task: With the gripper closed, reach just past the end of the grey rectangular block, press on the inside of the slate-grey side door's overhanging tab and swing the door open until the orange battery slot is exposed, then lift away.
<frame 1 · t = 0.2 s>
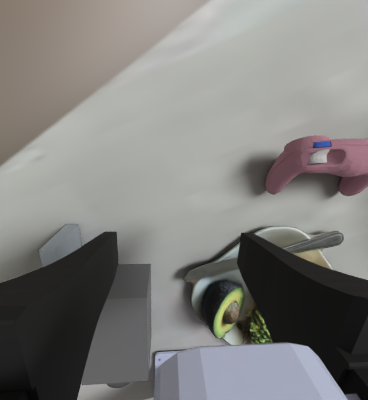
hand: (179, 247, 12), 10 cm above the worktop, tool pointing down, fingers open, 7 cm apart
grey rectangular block: (122, 304, 25), on the worktop
side door: (71, 308, 21), point 3 cm above the worktop, hinge at 0.0°
video game controller: (307, 164, 22), on the worktop
salad plate: (255, 285, 27), on the worktop
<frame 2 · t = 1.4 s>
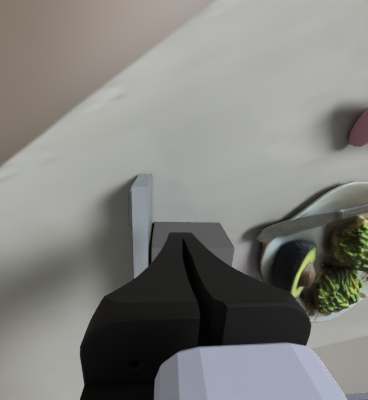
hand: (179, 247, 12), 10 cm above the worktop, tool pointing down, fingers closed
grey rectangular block: (184, 267, 24), on the worktop
side door: (141, 265, 20), point 3 cm above the worktop, hinge at 0.0°
salad plate: (321, 251, 25), on the worktop
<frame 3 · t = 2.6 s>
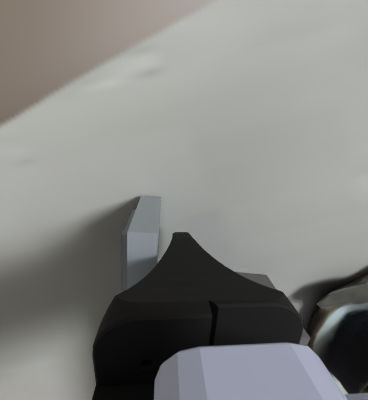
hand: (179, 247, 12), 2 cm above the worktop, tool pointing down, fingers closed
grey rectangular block: (206, 329, 17), on the worktop
side door: (140, 337, 13), point 3 cm above the worktop, hinge at 4.9°, touching gripper
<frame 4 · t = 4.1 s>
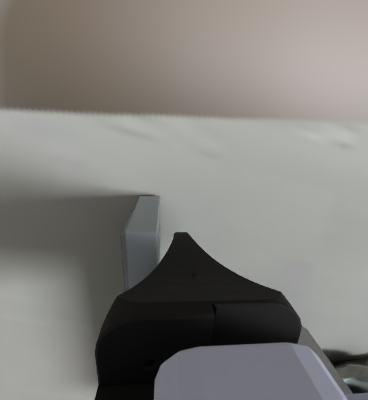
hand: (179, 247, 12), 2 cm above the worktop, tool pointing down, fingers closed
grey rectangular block: (233, 354, 18), on the worktop
side door: (146, 336, 13), point 3 cm above the worktop, hinge at 37.0°, touching gripper
salad plate: (352, 396, 23), on the worktop
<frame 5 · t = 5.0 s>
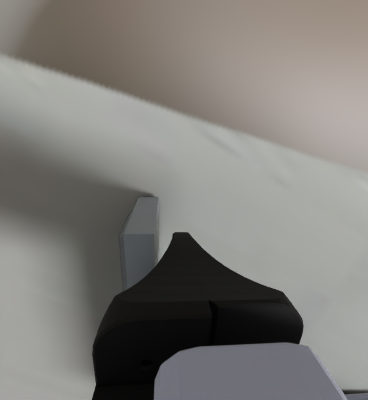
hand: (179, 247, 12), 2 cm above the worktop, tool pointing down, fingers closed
side door: (146, 337, 13), point 3 cm above the worktop, hinge at 52.1°, touching gripper
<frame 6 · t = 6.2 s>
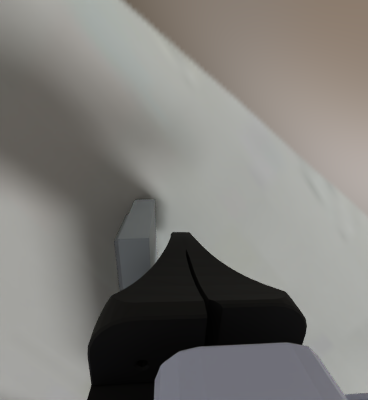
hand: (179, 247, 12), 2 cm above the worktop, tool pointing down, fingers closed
side door: (145, 340, 13), point 3 cm above the worktop, hinge at 72.5°, touching gripper
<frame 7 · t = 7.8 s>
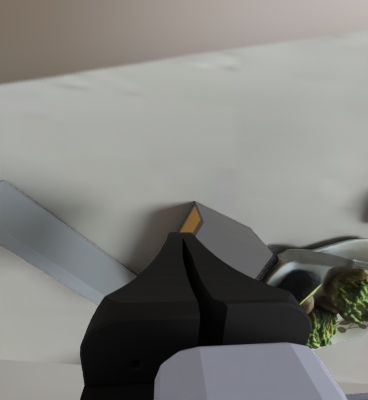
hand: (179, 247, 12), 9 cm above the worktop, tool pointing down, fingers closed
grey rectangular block: (197, 257, 23), on the worktop
side door: (69, 256, 19), point 3 cm above the worktop, hinge at 72.5°
salad plate: (314, 290, 27), on the worktop
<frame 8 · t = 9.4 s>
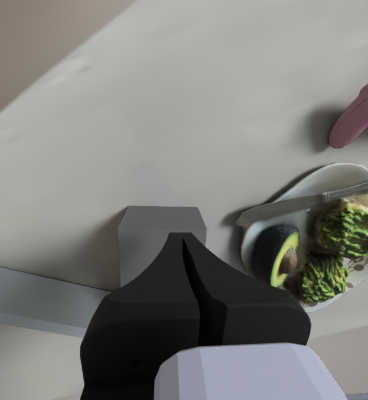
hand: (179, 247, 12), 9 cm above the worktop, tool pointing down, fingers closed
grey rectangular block: (162, 255, 23), on the worktop
side door: (37, 301, 20), point 3 cm above the worktop, hinge at 72.5°
salad plate: (306, 239, 24), on the worktop
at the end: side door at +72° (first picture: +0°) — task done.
